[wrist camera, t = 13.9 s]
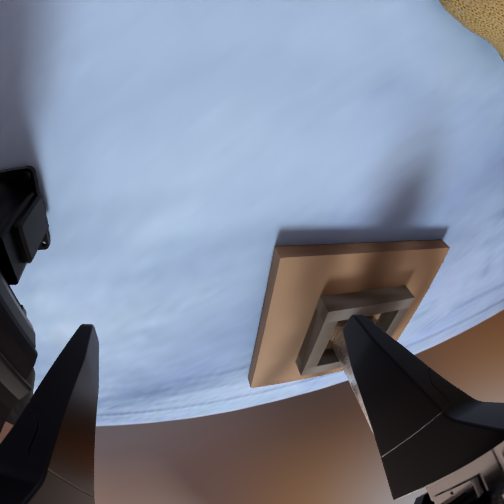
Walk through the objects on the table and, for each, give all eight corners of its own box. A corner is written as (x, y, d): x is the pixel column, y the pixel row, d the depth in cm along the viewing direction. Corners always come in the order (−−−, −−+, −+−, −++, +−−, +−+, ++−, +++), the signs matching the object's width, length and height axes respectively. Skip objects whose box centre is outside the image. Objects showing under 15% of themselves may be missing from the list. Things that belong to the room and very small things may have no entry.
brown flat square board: (248, 378, 37) (254, 401, 34) (274, 246, 25) (288, 274, 23) (379, 351, 42) (390, 370, 39) (441, 239, 30) (460, 258, 28)
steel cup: (334, 347, 35) (379, 444, 25) (320, 326, 31) (373, 438, 21) (375, 324, 34) (429, 416, 24) (367, 299, 30) (431, 404, 20)
